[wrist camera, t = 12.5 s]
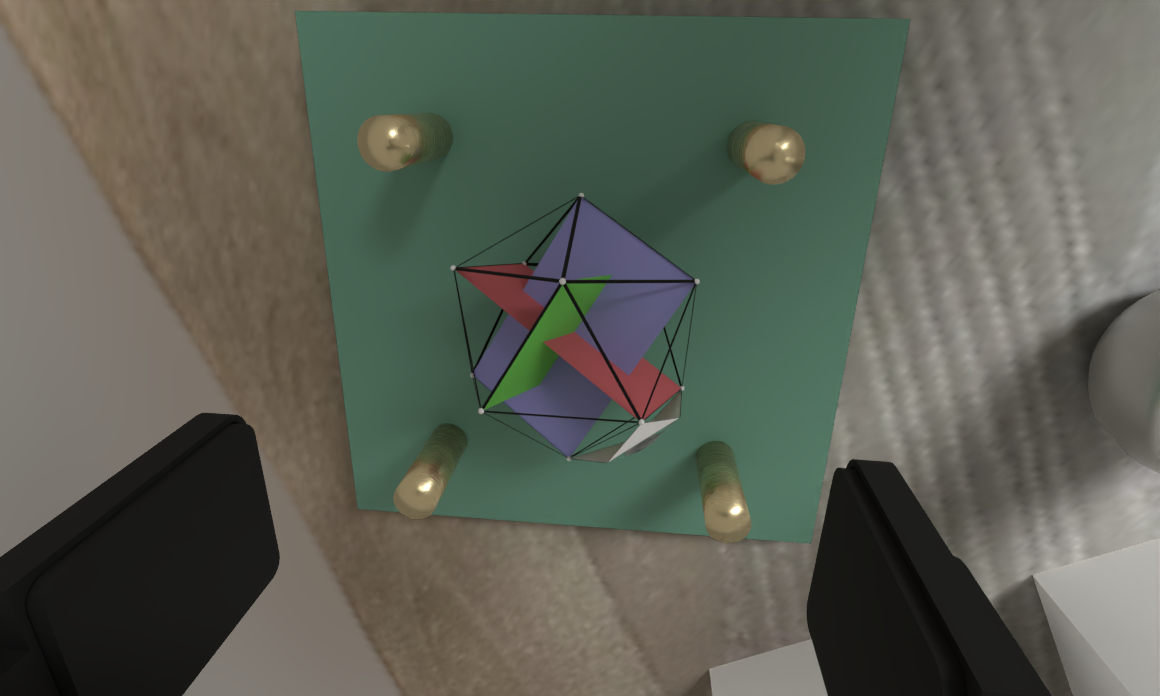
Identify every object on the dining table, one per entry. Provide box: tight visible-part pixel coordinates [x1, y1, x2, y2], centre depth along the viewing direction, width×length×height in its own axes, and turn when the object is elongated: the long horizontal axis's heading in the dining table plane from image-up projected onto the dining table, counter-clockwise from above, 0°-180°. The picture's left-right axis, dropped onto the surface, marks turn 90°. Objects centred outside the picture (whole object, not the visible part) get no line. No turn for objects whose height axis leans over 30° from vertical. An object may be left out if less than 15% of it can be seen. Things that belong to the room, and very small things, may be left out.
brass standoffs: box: [357, 113, 805, 543], centre depth 20 cm, size 11×12×4 cm
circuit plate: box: [295, 11, 910, 544], centre depth 22 cm, size 18×18×2 cm
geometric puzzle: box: [451, 193, 700, 463], centre depth 19 cm, size 7×7×8 cm
